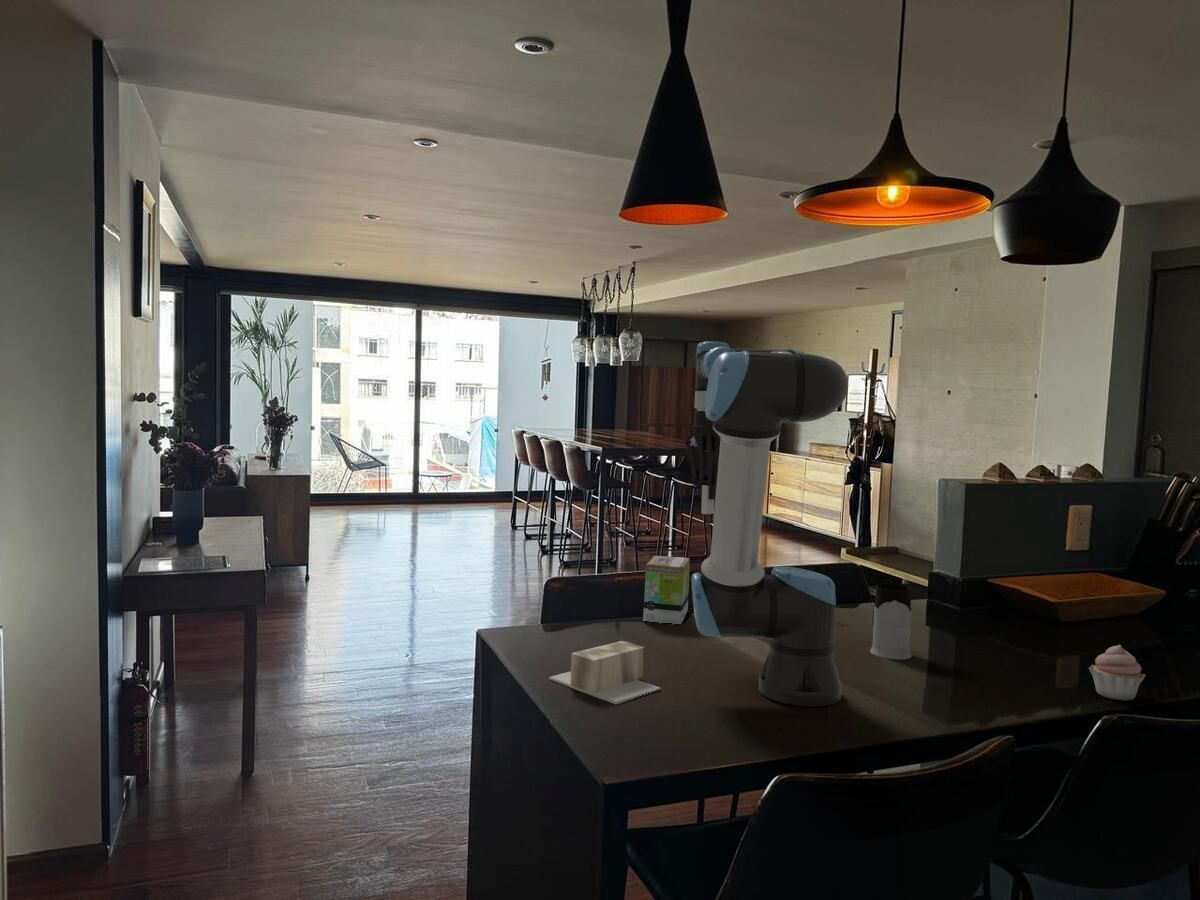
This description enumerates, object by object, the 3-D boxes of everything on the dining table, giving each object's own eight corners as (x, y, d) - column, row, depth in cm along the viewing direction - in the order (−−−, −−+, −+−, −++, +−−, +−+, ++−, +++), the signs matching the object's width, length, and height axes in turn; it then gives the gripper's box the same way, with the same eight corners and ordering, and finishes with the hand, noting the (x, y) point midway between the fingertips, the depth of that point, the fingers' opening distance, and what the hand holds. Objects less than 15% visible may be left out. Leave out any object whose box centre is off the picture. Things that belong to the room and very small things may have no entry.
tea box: (682, 625, 206) (684, 566, 205) (642, 622, 208) (644, 563, 207) (688, 612, 221) (690, 556, 220) (650, 609, 223) (652, 554, 222)
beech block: (645, 647, 162) (593, 660, 153) (644, 677, 163) (592, 693, 153) (623, 640, 167) (571, 653, 157) (622, 670, 167) (570, 684, 157)
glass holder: (871, 657, 183) (874, 589, 182) (866, 640, 197) (869, 577, 196) (914, 661, 181) (917, 592, 180) (906, 644, 195) (909, 580, 194)
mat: (660, 690, 157) (660, 687, 157) (615, 704, 149) (615, 701, 149) (593, 667, 170) (594, 665, 170) (549, 679, 161) (549, 676, 161)
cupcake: (1132, 707, 155) (1135, 654, 155) (1079, 693, 163) (1081, 642, 162) (1153, 698, 161) (1156, 647, 160) (1100, 685, 168) (1103, 635, 168)
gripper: (744, 411, 189) (740, 515, 190) (699, 410, 198) (695, 509, 199) (723, 410, 183) (720, 517, 184) (678, 409, 193) (675, 511, 194)
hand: (707, 513), depth 192 cm, fingers closed
